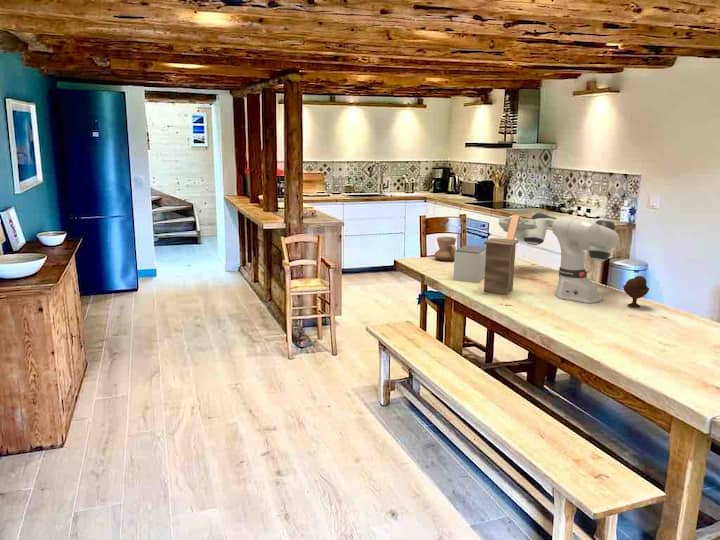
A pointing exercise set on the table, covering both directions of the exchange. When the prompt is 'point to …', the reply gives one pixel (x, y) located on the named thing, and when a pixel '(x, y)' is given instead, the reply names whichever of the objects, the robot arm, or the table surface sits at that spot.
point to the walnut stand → (499, 265)
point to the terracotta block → (513, 227)
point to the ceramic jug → (446, 248)
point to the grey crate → (470, 263)
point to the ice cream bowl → (636, 289)
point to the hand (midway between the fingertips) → (514, 217)
